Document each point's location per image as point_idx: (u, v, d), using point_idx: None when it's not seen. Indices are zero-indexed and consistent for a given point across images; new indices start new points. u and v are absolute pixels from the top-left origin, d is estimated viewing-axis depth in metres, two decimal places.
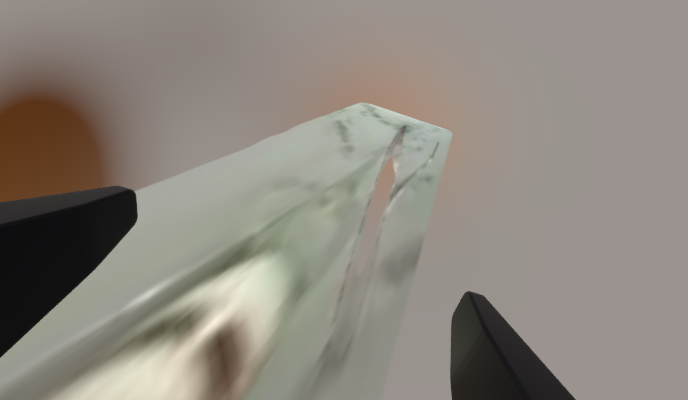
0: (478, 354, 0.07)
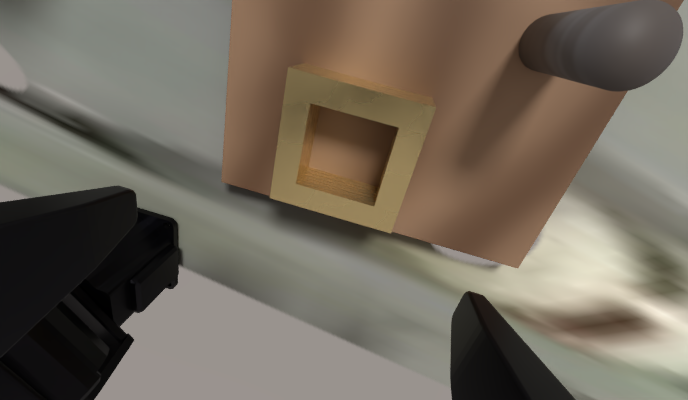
0: (478, 354, 0.07)
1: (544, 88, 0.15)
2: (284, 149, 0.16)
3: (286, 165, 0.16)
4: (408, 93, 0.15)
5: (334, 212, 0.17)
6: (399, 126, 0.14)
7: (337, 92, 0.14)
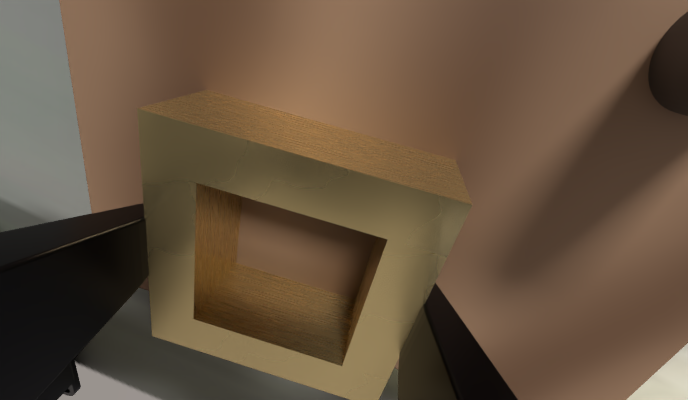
0: (419, 336, 0.07)
1: None
2: (162, 263, 0.08)
3: (171, 288, 0.08)
4: (408, 155, 0.07)
5: (270, 366, 0.09)
6: (388, 237, 0.06)
7: (250, 163, 0.06)
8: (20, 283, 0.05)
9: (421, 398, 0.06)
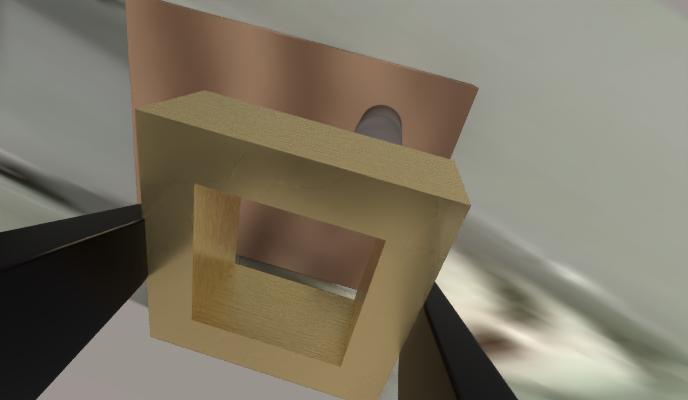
0: (419, 336, 0.07)
1: None
2: (160, 264, 0.08)
3: (169, 289, 0.08)
4: (407, 155, 0.07)
5: (268, 367, 0.09)
6: (386, 237, 0.06)
7: (248, 163, 0.06)
8: (20, 283, 0.05)
9: (421, 398, 0.06)
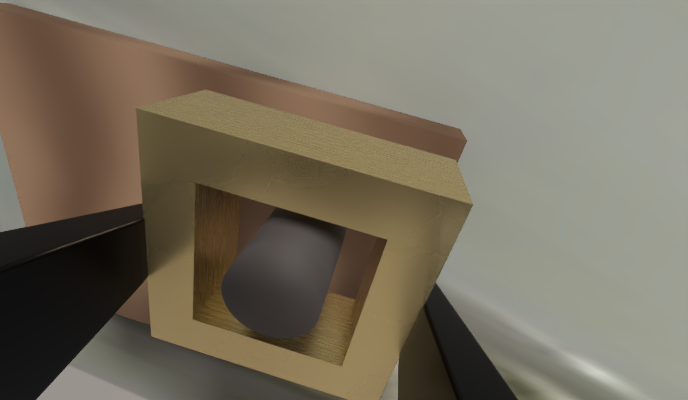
0: (419, 336, 0.07)
1: None
2: (161, 263, 0.08)
3: (170, 288, 0.08)
4: (408, 154, 0.07)
5: (269, 367, 0.09)
6: (388, 237, 0.06)
7: (250, 163, 0.06)
8: (21, 282, 0.05)
9: (421, 398, 0.06)
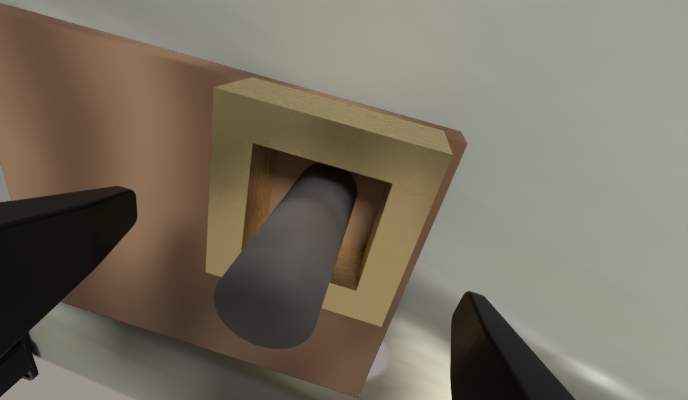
0: (478, 354, 0.07)
1: None
2: (220, 208, 0.10)
3: (225, 229, 0.11)
4: (408, 125, 0.10)
5: None
6: (393, 181, 0.09)
7: (294, 127, 0.09)
8: None
9: None
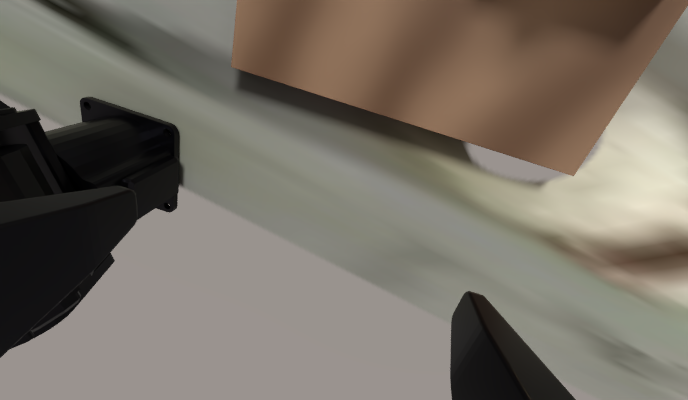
0: (478, 354, 0.07)
1: None
2: None
3: None
4: None
5: None
6: None
7: None
8: None
9: None
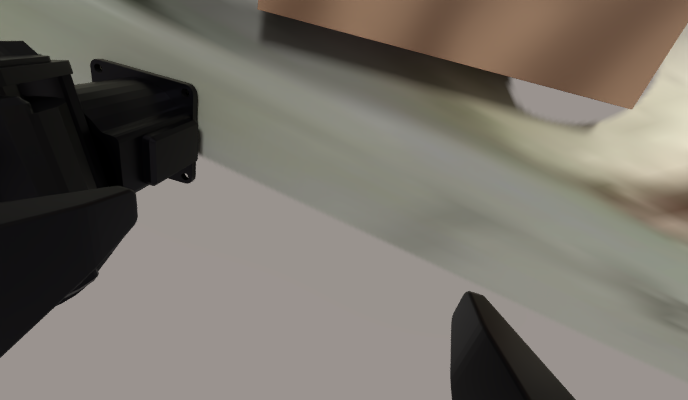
0: (478, 354, 0.07)
1: None
2: None
3: None
4: None
5: None
6: None
7: None
8: None
9: None
